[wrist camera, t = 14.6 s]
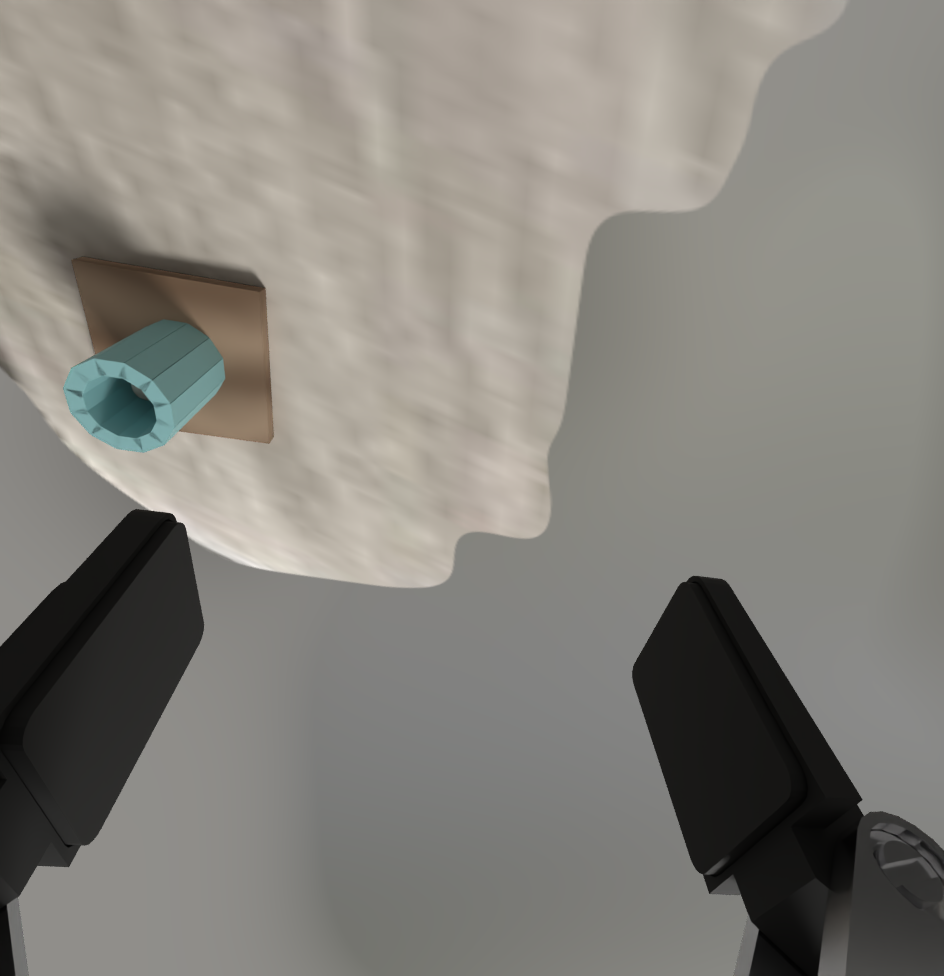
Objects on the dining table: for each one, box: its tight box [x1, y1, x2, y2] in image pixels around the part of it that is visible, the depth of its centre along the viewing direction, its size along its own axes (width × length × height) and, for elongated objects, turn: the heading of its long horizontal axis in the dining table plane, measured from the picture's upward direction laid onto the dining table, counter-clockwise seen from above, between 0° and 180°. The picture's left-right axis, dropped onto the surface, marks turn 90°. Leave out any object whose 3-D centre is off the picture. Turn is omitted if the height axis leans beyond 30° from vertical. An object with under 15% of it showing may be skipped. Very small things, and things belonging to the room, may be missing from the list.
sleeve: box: [63, 319, 225, 453], centre depth 33 cm, size 6×6×8 cm
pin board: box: [71, 257, 274, 444], centre depth 35 cm, size 12×12×7 cm
